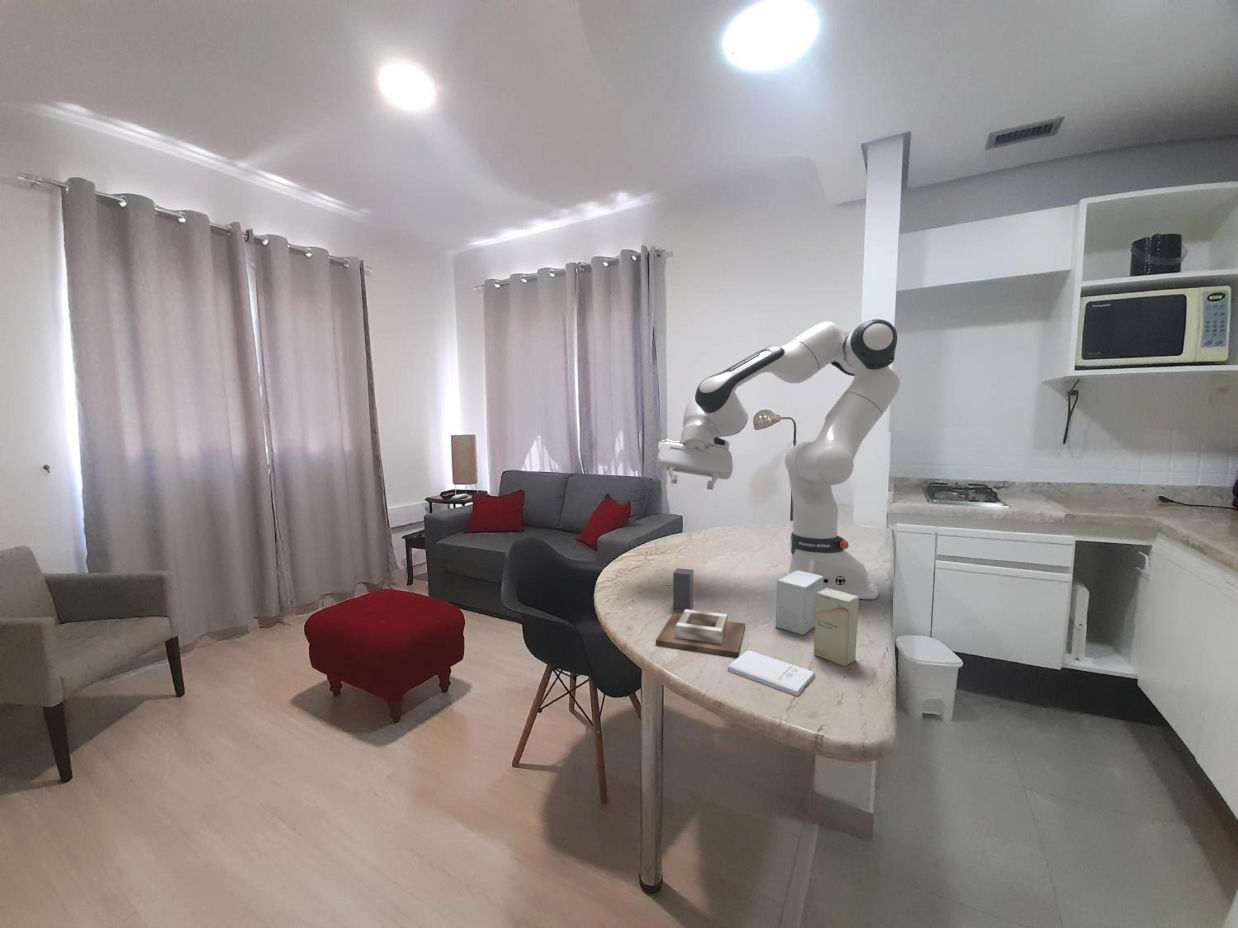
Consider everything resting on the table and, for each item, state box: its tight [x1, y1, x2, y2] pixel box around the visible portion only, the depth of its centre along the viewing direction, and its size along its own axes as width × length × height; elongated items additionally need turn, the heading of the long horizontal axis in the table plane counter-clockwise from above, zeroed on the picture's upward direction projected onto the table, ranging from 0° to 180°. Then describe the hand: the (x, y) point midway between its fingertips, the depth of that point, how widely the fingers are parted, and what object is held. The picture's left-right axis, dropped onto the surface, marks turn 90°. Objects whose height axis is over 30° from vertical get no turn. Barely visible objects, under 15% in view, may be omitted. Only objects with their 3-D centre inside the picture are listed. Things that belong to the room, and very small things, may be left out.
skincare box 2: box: [813, 588, 860, 667], centre depth 88 cm, size 6×4×12 cm
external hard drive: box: [727, 649, 816, 697], centre depth 83 cm, size 2×8×12 cm
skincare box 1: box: [774, 570, 823, 636], centre depth 103 cm, size 10×6×10 cm, turn 137°
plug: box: [672, 567, 694, 612], centre depth 113 cm, size 4×4×9 cm
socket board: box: [655, 609, 746, 658], centre depth 97 cm, size 16×14×4 cm
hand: (691, 485), depth 123 cm, fingers open, 8 cm apart
